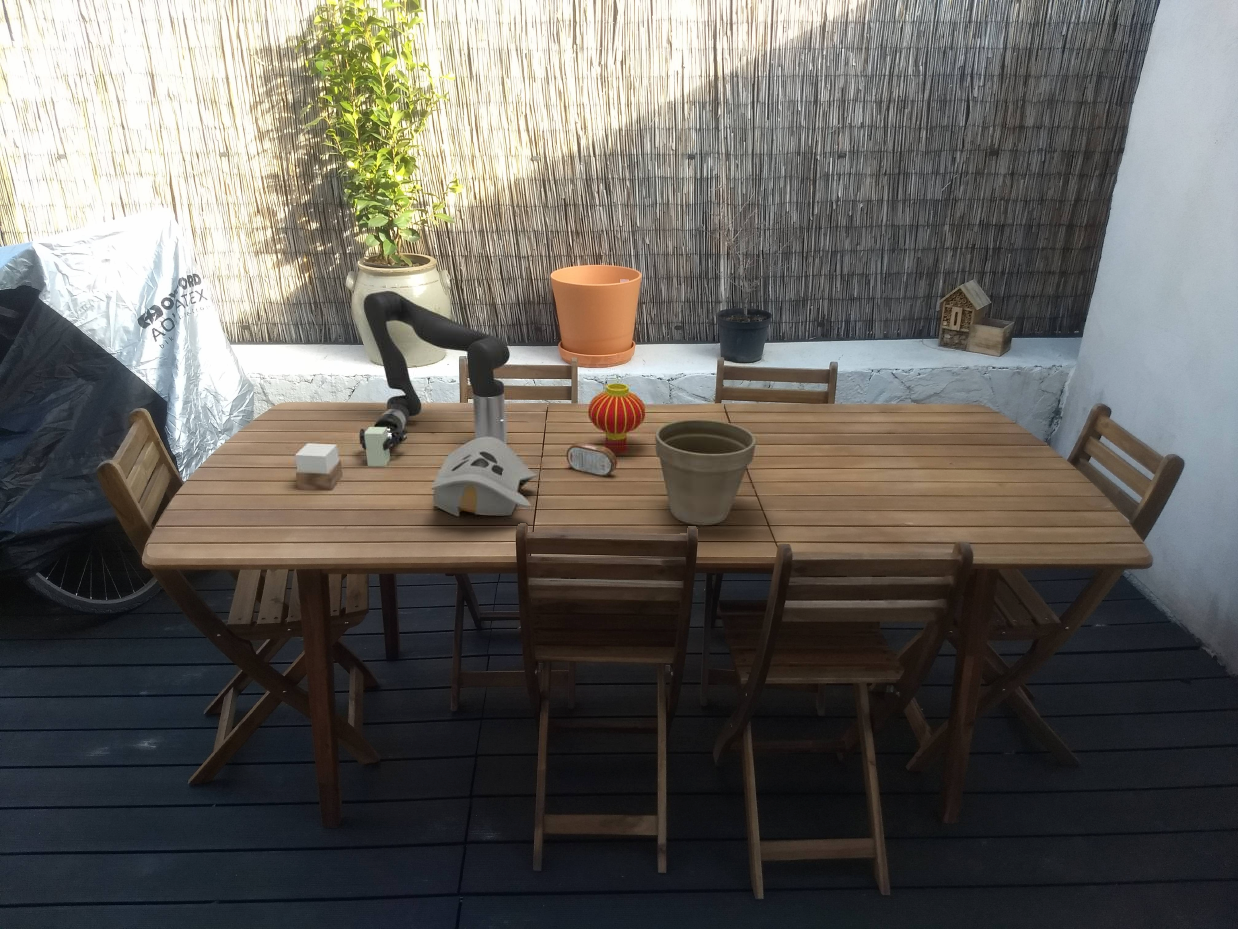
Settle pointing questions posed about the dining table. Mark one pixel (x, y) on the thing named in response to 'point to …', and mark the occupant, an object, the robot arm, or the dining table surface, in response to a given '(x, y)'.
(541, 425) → the dining table surface
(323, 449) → the tower top
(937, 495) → the dining table surface
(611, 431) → the lantern
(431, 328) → the robot arm
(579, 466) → the tin
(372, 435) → the block
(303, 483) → the tower bottom
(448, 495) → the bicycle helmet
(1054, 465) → the dining table surface
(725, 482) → the plant pot
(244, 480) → the dining table surface
